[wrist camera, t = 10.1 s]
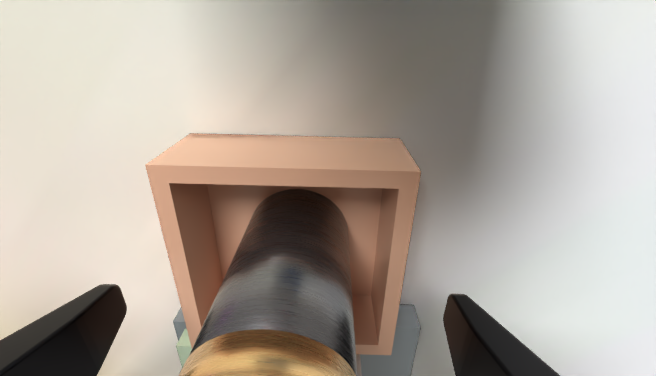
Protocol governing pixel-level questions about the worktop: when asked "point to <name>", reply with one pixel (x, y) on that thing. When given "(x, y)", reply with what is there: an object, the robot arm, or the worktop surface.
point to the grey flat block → (372, 370)
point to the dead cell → (283, 296)
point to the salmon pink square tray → (278, 175)
